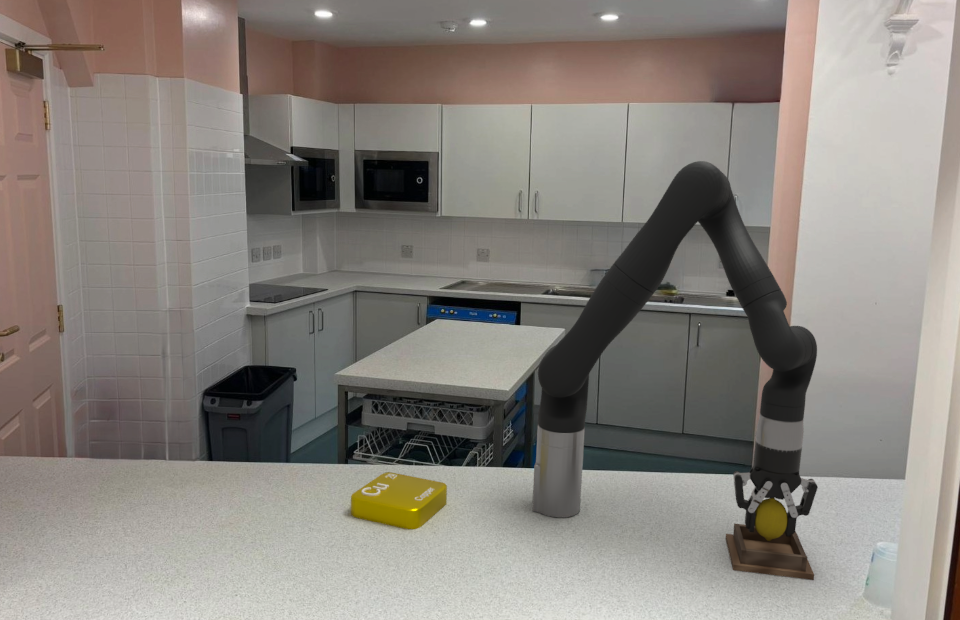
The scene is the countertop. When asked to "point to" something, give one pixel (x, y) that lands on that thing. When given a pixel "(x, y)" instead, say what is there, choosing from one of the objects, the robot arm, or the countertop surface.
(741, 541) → the lemon stand
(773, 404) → the robot arm
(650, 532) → the countertop surface
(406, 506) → the element tile
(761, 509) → the lemon
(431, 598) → the countertop surface
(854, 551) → the countertop surface
